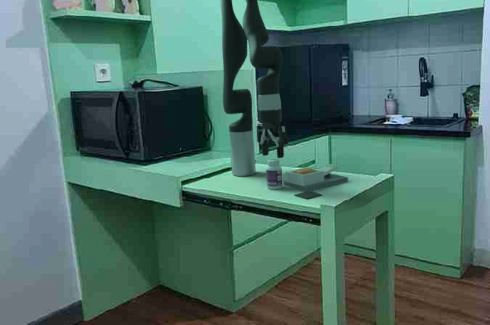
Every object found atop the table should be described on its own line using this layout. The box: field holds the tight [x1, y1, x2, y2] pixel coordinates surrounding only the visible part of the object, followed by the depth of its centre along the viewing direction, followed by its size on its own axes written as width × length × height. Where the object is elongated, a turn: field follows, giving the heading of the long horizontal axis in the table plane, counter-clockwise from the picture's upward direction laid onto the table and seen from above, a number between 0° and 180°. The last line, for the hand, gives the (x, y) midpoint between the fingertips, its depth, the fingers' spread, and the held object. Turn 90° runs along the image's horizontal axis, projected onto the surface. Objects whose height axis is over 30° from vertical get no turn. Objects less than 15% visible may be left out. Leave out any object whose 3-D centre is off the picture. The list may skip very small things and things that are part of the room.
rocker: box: [318, 163, 339, 176], centre depth 157 cm, size 4×8×1 cm, turn 123°
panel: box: [282, 167, 349, 192], centre depth 155 cm, size 13×18×5 cm
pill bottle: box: [265, 158, 284, 190], centre depth 152 cm, size 5×5×10 cm
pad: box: [294, 191, 323, 200], centre depth 140 cm, size 6×6×1 cm
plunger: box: [295, 167, 315, 175], centre depth 152 cm, size 6×6×2 cm
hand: (272, 156), depth 151 cm, fingers open, 8 cm apart
